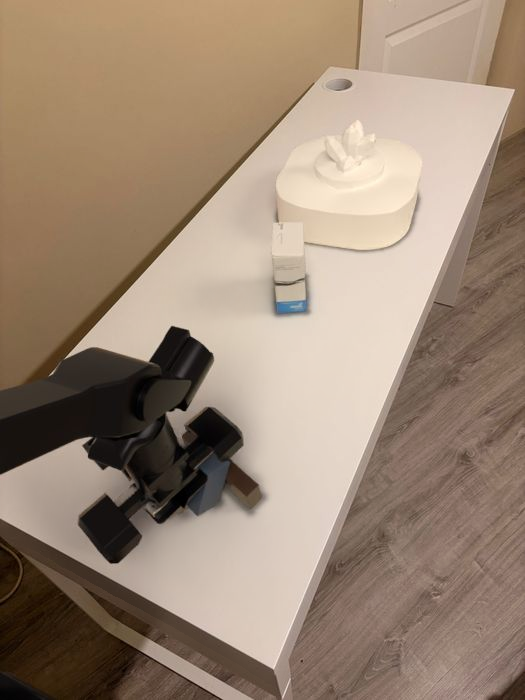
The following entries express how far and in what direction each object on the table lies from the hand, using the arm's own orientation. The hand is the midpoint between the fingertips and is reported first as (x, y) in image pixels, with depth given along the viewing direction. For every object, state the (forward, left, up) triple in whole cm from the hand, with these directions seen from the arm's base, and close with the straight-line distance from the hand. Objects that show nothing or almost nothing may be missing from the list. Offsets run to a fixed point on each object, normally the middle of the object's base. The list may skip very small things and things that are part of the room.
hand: (181, 508), depth 60 cm
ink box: (+36, +15, -1) cm, 39 cm away
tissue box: (+61, +23, -1) cm, 65 cm away
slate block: (+4, 0, +3) cm, 5 cm away
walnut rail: (+7, 0, -1) cm, 7 cm away
